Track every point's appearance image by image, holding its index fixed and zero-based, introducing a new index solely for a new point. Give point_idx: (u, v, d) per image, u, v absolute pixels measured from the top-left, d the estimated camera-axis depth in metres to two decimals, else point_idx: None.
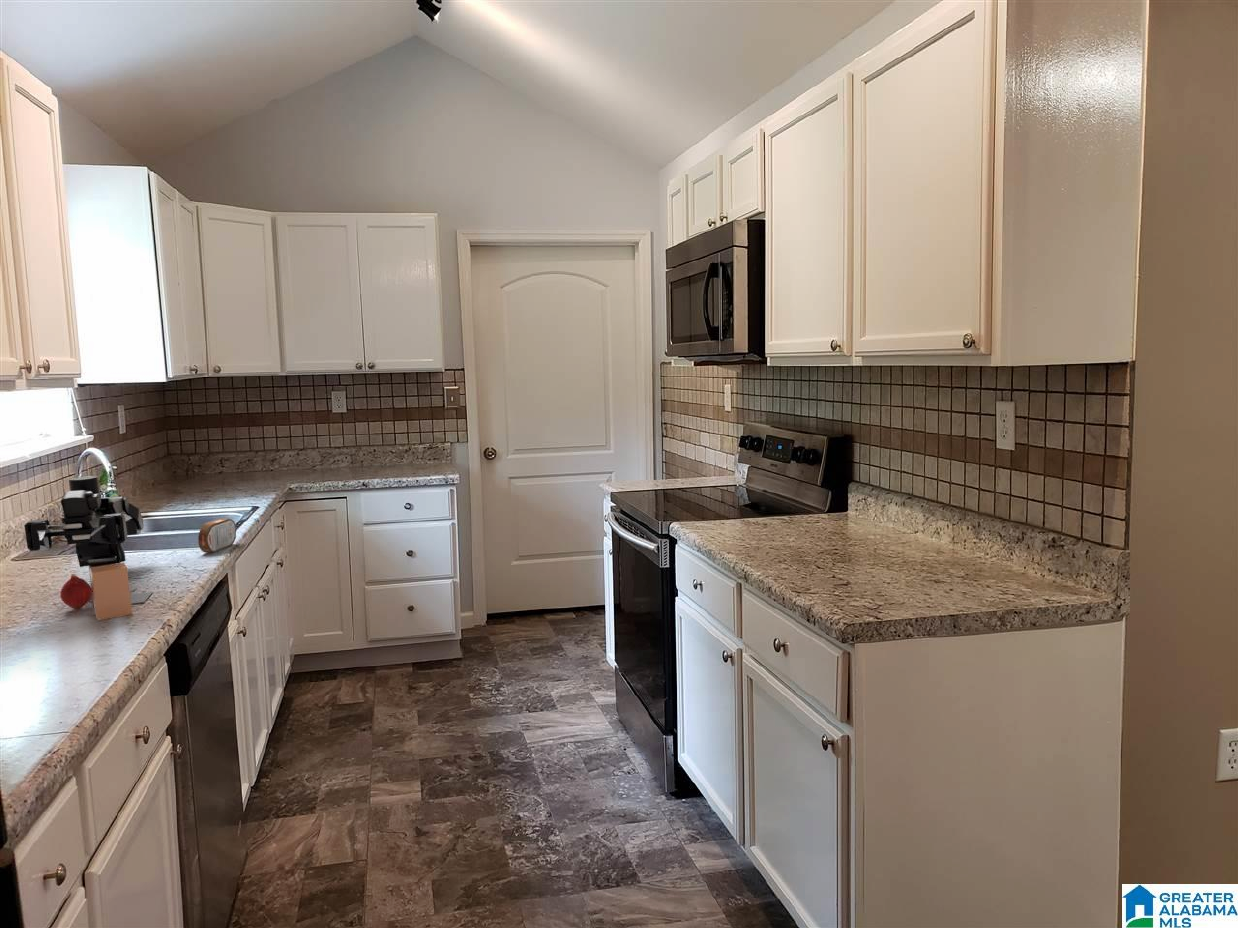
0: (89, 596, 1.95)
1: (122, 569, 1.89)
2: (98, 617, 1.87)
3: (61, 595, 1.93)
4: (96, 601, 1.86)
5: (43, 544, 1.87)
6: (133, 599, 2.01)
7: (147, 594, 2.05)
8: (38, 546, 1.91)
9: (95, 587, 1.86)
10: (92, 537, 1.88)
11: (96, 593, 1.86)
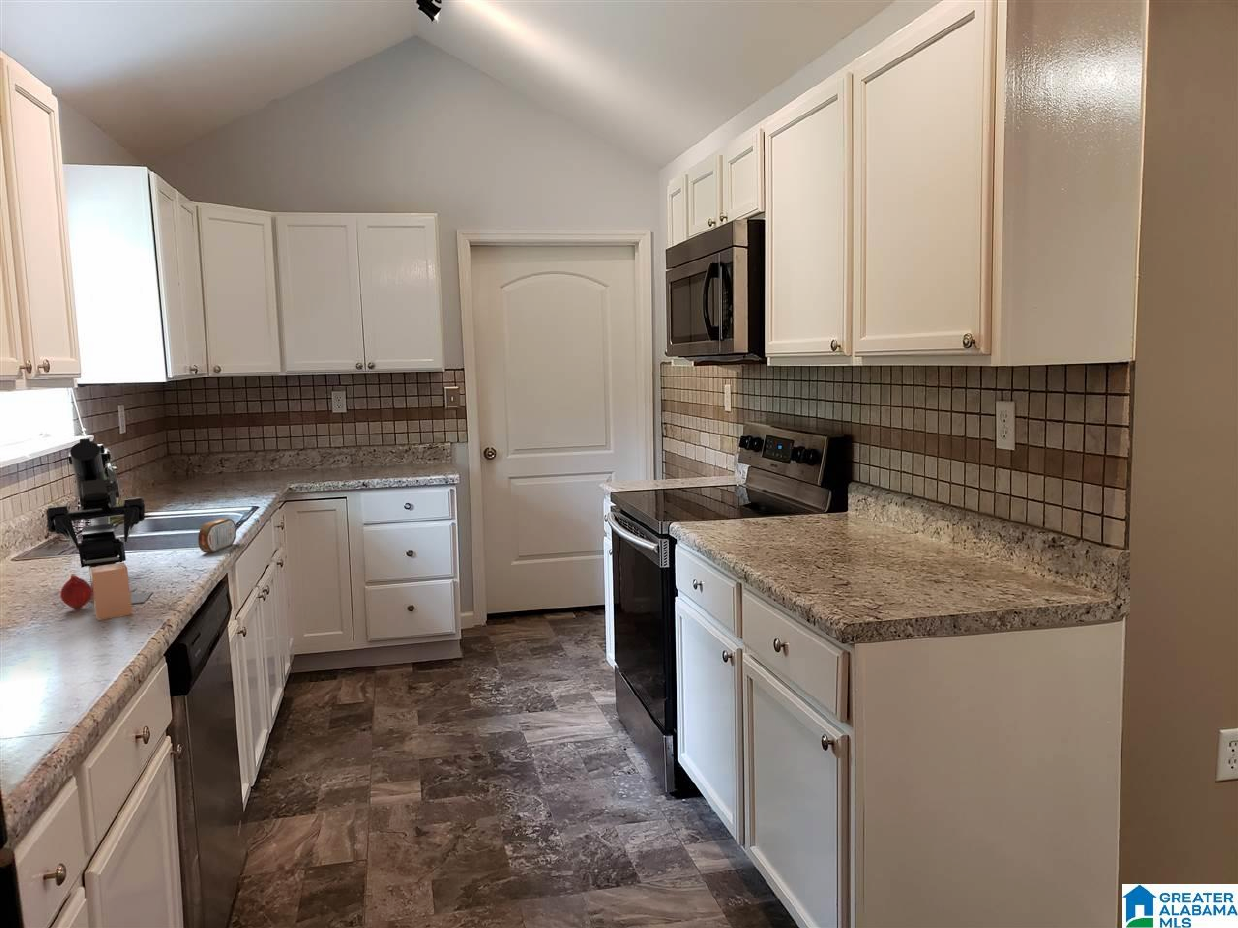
0: (89, 596, 1.95)
1: (122, 569, 1.89)
2: (98, 617, 1.87)
3: (61, 595, 1.93)
4: (96, 601, 1.86)
5: None
6: (133, 599, 2.01)
7: (147, 594, 2.05)
8: (61, 531, 1.97)
9: (95, 587, 1.86)
10: (127, 539, 1.98)
11: (96, 593, 1.86)
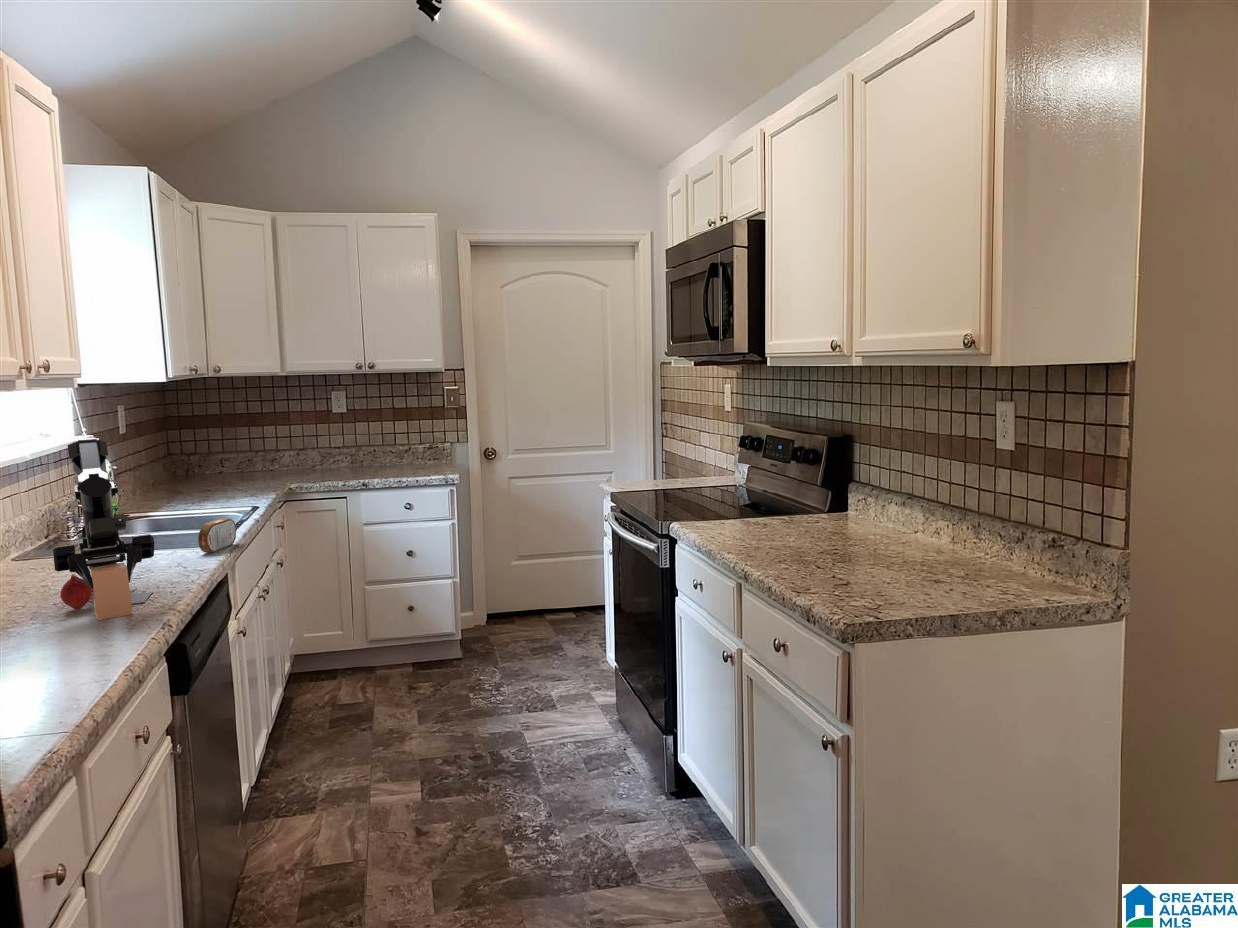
0: (89, 596, 1.95)
1: (122, 569, 1.89)
2: (98, 617, 1.87)
3: (61, 595, 1.93)
4: (96, 601, 1.86)
5: None
6: (133, 599, 2.01)
7: (147, 594, 2.05)
8: (75, 569, 1.90)
9: (95, 587, 1.86)
10: (130, 579, 1.91)
11: (96, 593, 1.86)
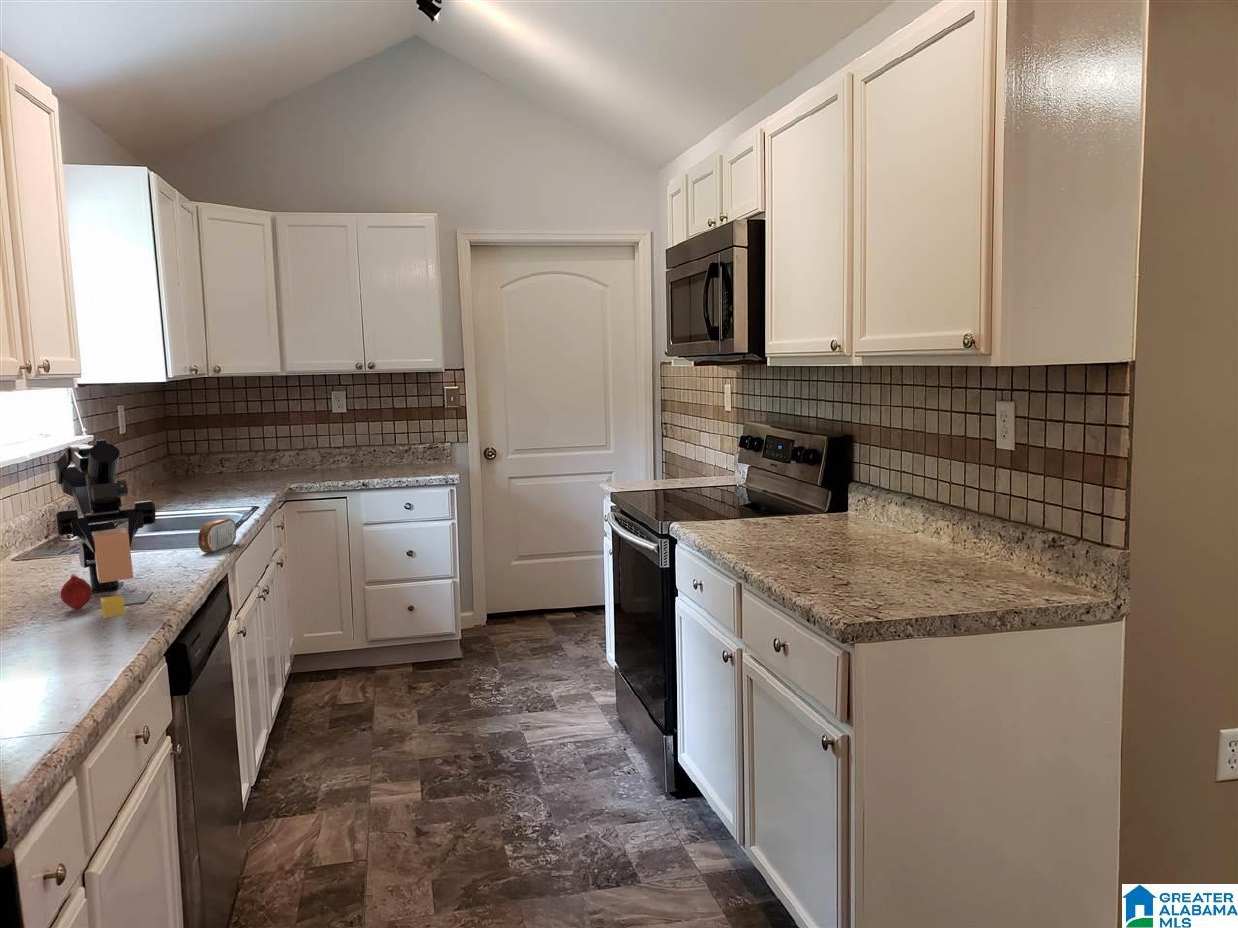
0: (89, 596, 1.95)
1: (124, 534, 1.93)
2: (100, 580, 1.91)
3: (61, 595, 1.93)
4: (98, 564, 1.91)
5: None
6: (133, 599, 2.01)
7: (147, 594, 2.05)
8: (78, 533, 1.95)
9: (97, 551, 1.90)
10: (131, 544, 1.95)
11: (97, 557, 1.90)
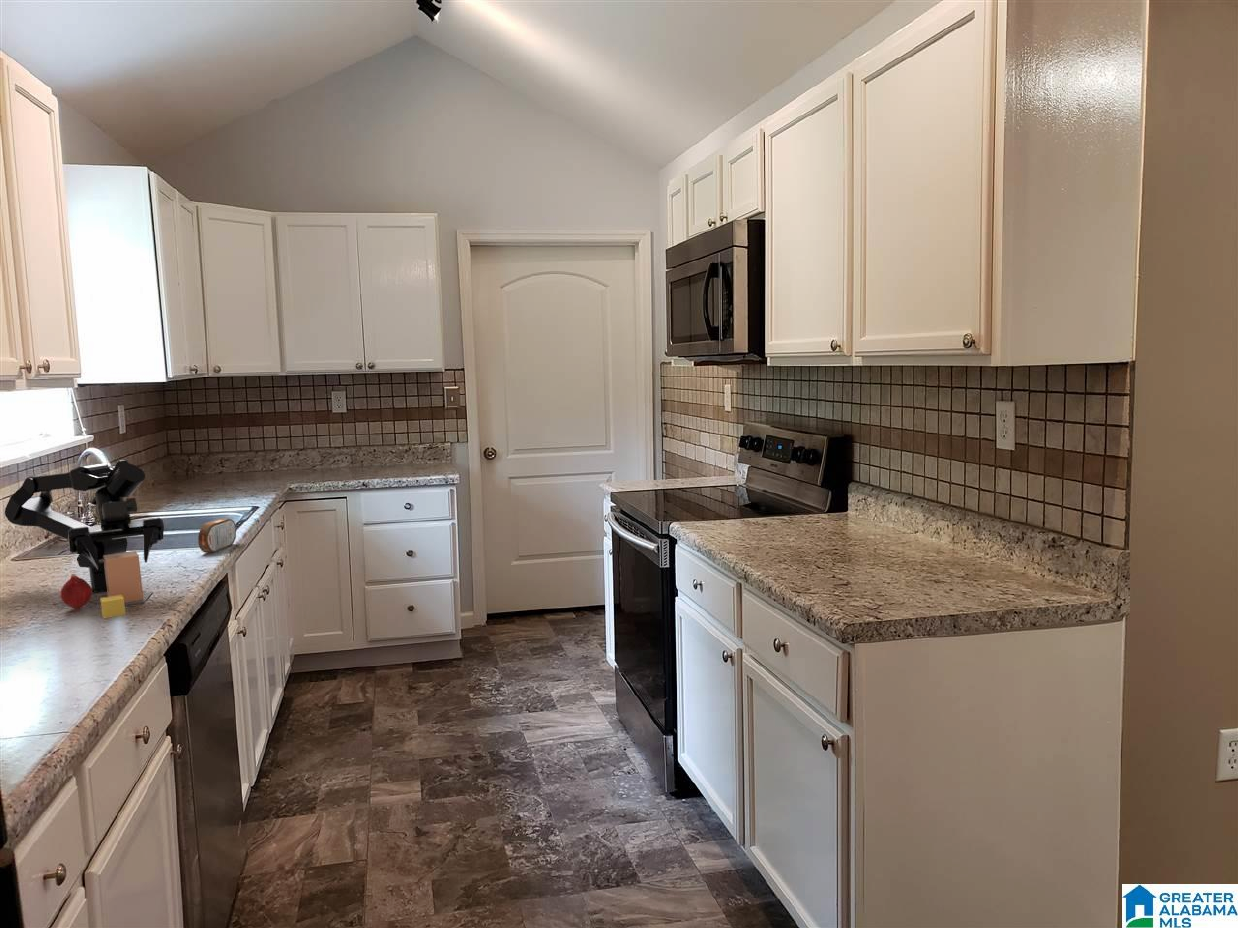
0: (89, 596, 1.95)
1: (134, 557, 1.99)
2: None
3: (61, 595, 1.93)
4: (109, 587, 1.97)
5: None
6: None
7: (147, 594, 2.05)
8: (82, 551, 2.00)
9: (108, 573, 1.96)
10: (147, 559, 2.02)
11: (109, 579, 1.97)
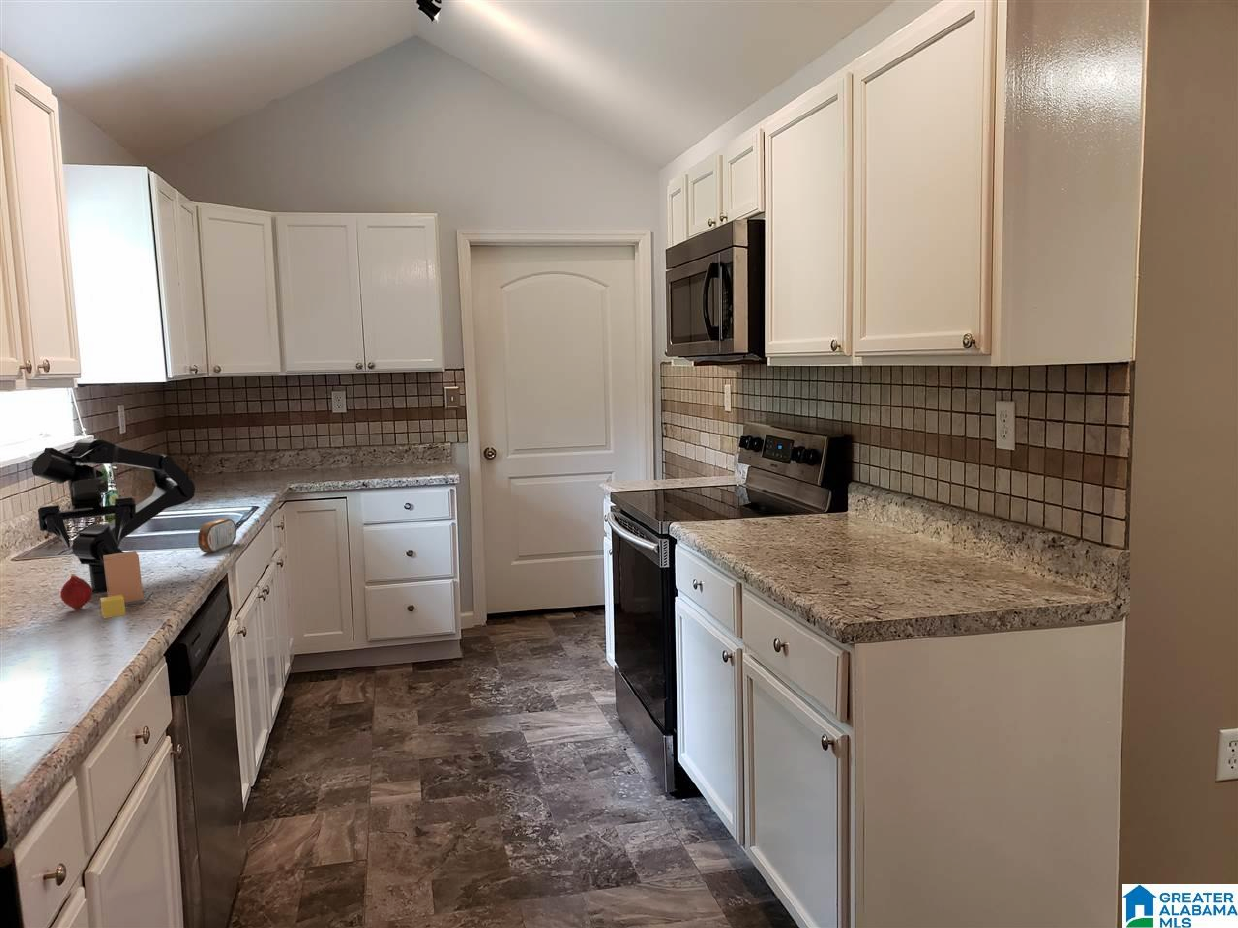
0: (89, 596, 1.95)
1: (134, 557, 1.99)
2: None
3: (61, 595, 1.93)
4: (109, 587, 1.97)
5: None
6: None
7: (147, 594, 2.05)
8: (53, 530, 1.99)
9: (108, 573, 1.96)
10: (118, 538, 2.01)
11: (109, 579, 1.97)
